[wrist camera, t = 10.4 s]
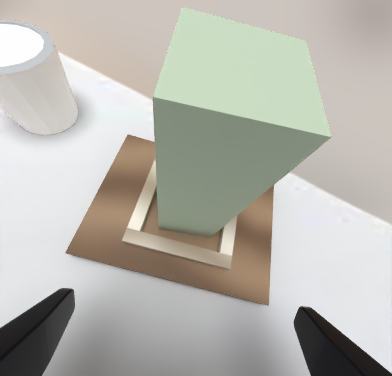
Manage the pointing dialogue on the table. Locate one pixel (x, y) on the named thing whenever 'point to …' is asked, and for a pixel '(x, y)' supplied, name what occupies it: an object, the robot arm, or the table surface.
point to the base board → (173, 233)
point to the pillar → (229, 119)
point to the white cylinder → (34, 80)
